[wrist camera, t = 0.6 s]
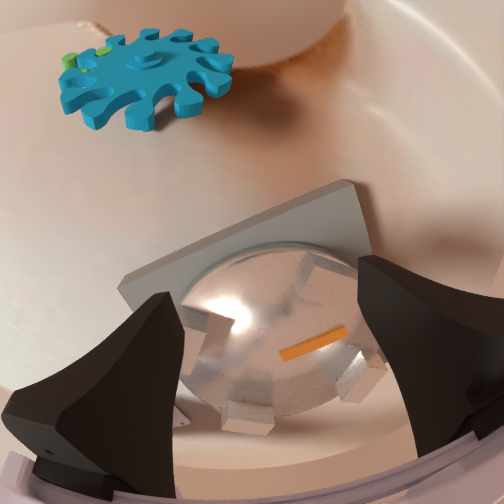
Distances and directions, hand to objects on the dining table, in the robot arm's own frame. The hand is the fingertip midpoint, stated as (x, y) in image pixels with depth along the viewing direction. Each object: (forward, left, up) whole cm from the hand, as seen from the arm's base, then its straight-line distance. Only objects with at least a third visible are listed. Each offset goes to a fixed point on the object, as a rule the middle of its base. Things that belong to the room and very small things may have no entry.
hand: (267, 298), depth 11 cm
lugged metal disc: (-2, -9, -8) cm, 12 cm away
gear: (-2, +12, -11) cm, 16 cm away
